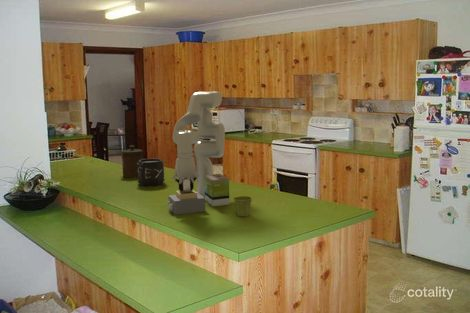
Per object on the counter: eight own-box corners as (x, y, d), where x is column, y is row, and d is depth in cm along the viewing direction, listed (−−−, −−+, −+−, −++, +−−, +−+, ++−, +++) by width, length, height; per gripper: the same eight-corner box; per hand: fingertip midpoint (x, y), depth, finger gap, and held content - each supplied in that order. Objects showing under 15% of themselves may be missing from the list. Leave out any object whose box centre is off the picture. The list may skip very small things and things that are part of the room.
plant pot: (229, 215, 249) (229, 198, 248) (243, 211, 256) (242, 195, 254) (243, 218, 243) (242, 201, 241) (256, 214, 249) (256, 197, 248)
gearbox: (198, 205, 271) (197, 187, 270) (205, 211, 258) (205, 193, 257) (166, 208, 265) (165, 191, 264) (171, 215, 252) (171, 196, 251)
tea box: (204, 200, 281) (203, 174, 279) (221, 198, 284) (220, 173, 282) (212, 206, 267) (211, 179, 265) (230, 204, 270) (229, 177, 268)
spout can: (189, 194, 264) (189, 175, 262) (192, 196, 259) (191, 177, 258) (180, 195, 262) (180, 176, 261) (183, 197, 258) (182, 177, 256)
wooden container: (131, 173, 370) (129, 143, 367) (148, 174, 364) (146, 144, 360) (118, 176, 357) (116, 146, 354) (135, 178, 351) (133, 146, 347)
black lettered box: (132, 186, 323) (131, 162, 320) (144, 181, 340) (142, 158, 337) (158, 187, 318) (157, 163, 316) (169, 181, 336) (168, 158, 333)
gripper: (198, 153, 264) (200, 187, 267) (167, 156, 258) (168, 190, 261) (202, 155, 257) (204, 190, 260) (170, 158, 251) (171, 193, 254)
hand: (186, 190), depth 260 cm, fingers closed on spout can, 4 cm apart
